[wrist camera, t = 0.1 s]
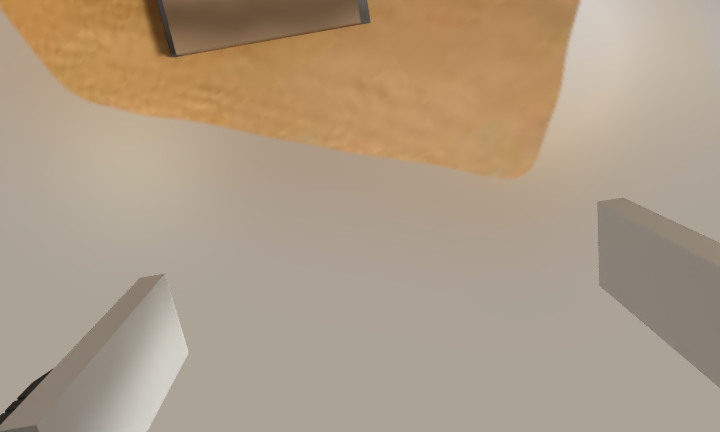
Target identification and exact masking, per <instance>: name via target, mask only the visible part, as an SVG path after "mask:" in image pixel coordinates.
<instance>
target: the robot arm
mask: <svg viewBox="0 0 720 432" xmlns="http://www.w3.org/2000/svg"><path fill="white" fill-rule="evenodd" d="M597 204H598V246H599V284H600V286H601V287H602V288H603V289H604V290H605V291H607V292H608V293H609V294H610V295H611V296H612V297H614V298H615V299H616V300H617V301H618V302H620V303H621V304H622V305H623V306H624V307H626V308H627V309H628V310H629V311H630V312H631V313H632V314H634V315H635V316H636V317H637V318H638V319H639V320H641V321H642V322H643V323H644V324H645V325H646V326H648V327H649V328H650V329H651V330H652V331H654V332H655V333H656V334H657V335H658V336H660V337H661V338H662V339H663V340H664V341H665V342H666V343H668V344H669V345H670V346H671V347H672V348H674V349H675V350H676V351H677V352H678V353H679V354H681V355H682V356H683V357H684V358H685V359H687V360H688V361H689V362H690V363H691V364H692V365H694V366H695V367H696V368H697V369H698V370H699V371H701V372H702V373H703V374H704V375H705V376H707V377H708V378H709V379H710V380H711V381H712V382H713V383H715V384H716V385H717V386H718V387H719V388H720V243H719V242H717V241H714V240H712V239H710V238H708V237H706V236H704V235H701V234H699V233H697V232H695V231H693V230H691V229H689V228H687V227H685V226H682V225H680V224H678V223H676V222H674V221H672V220H669V219H667V218H665V217H663V216H661V215H659V214H657V213H655V212H652V211H650V210H648V209H646V208H644V207H642V206H640V205H637V204H635V203H633V202H631V201H629V200H627V199H625V198H619V199H612V200H606V201H600V202H598V203H597ZM188 353H189V352H188V349H187V346H186V342H185V339H184V336H183V332H182V329H181V326H180V322H179V319H178V316H177V312H176V309H175V306H174V302H173V299H172V296H171V292H170V289H169V286H168V282H167V279H166V276H165V274H160V275H154V276H148V277H143V278H139V279H138V280H137V282H136V283H135V284H134V285H133V286H132V287H131V288H130V289H129V290H128V291H127V292H126V293H125V294H124V295H123V296H122V297H121V298H120V299H119V300H118V302H117V303H116V304H115V305H114V306H113V307H112V308H111V309H110V310H109V311H108V312H107V313H106V314H105V315H104V316H103V317H102V318H101V320H100V321H99V322H98V323H97V324H96V325H95V326H94V327H93V328H92V329H91V330H90V331H89V332H88V333H87V334H86V335H85V336H84V337H83V338H82V340H81V341H80V342H79V343H78V344H77V345H76V346H75V347H74V348H73V349H72V350H71V351H70V352H69V353H68V354H67V356H65V358H63V359H62V361H61V362H60V363H59V364H58V365H57V366H56V367H55V368H54V369H52V370H50V371H49V372H47V373H46V374H44V375H43V376H41V377H40V378H39V379H37V380H36V381H34V382H33V383H32V384H31V385H30V386H29V387H28V388H27V389H26V390H25V391H24V392H23V393H22V394H21V395H20V396H19V397H18V398H17V399H18V400H17V401H14V402H13V403H12V404H11V405H10V406H9V407H8V408H7V409H6V410H5V413H3V414H1V415H0V432H147V430H148V429H149V427H150V425H151V423H152V421H153V419H154V417H155V415H156V413H157V412H158V410H159V408H160V406H161V404H162V402H163V400H164V398H165V396H166V395H167V393H168V391H169V389H170V387H171V385H172V383H173V382H174V380H175V378H176V376H177V374H178V372H179V370H180V368H181V366H182V364H183V362H184V361H185V359H186V357H187V355H188Z"/></svg>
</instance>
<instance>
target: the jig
mask: <svg viewBox="0 0 720 432" xmlns="http://www.w3.org/2000/svg"><path fill="white" fill-rule="evenodd" d="M157 2H158V6H159V10H160V14H161V17H162V21H163V25H164V29H165V33H166V36H167V40H168V44H169V48H170V51H171V55H172V57H179V56H185V55H190V54H196V53H202V52H207V51H213V50H219V49H224V48H230V47H236V46H241V45H247V44H252V43H258V42H264V41H269V40H275V39H281V38H286V37H292V36H298V35H303V34H309V33H315V32H320V31H326V30H332V29H337V28H343V27H349V26H354V25H360V24H365V23H370V16H369V10H368V3H367V0H157Z"/></svg>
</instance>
